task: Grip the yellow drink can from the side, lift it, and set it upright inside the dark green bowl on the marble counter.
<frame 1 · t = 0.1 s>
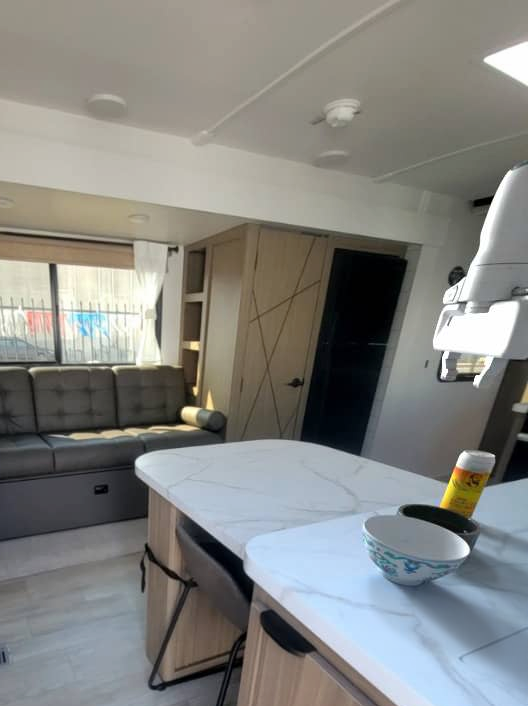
hand: (462, 384, 67), 30 cm above the table, tool pointing down, fingers open, 8 cm apart
chinaware: (399, 575, 69), on the table
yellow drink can: (452, 518, 92), on the table
dark green bowl: (428, 542, 80), on the table
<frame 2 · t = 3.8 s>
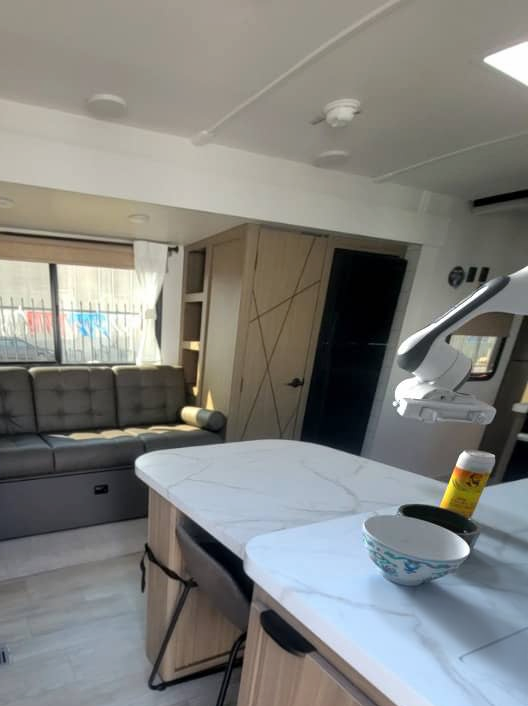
hand: (460, 419, 93), 20 cm above the table, tool horizontal, fingers open, 8 cm apart
nothing on the table moved.
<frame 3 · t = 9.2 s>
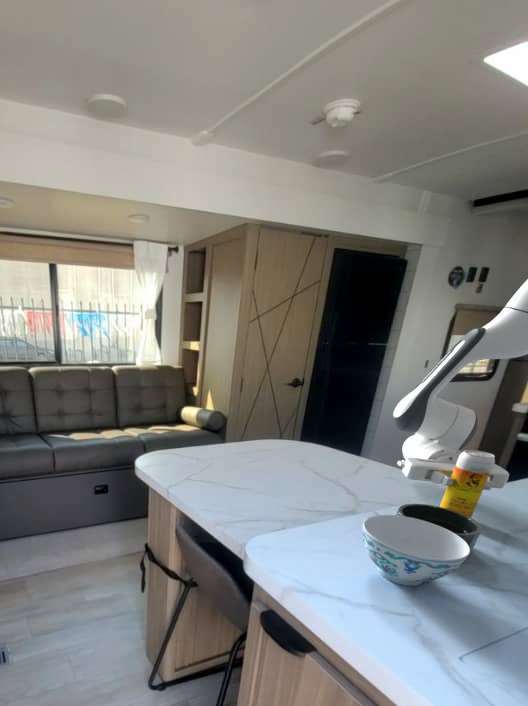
hand: (469, 484, 87), 8 cm above the table, tool horizontal, fingers closed on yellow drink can, 6 cm apart
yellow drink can: (452, 518, 92), on the table, touching gripper
everything else where it was.
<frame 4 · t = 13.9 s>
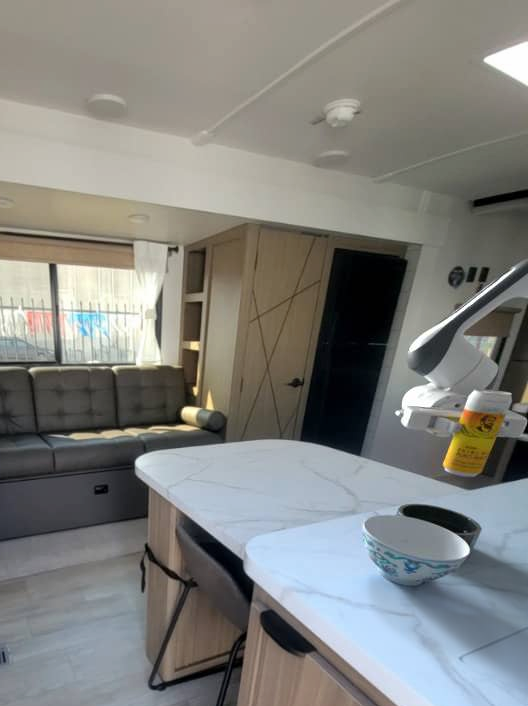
hand: (480, 430, 73), 22 cm above the table, tool horizontal, fingers closed on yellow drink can, 6 cm apart
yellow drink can: (459, 473, 78), point 13 cm above the table, touching gripper
everything else where it was.
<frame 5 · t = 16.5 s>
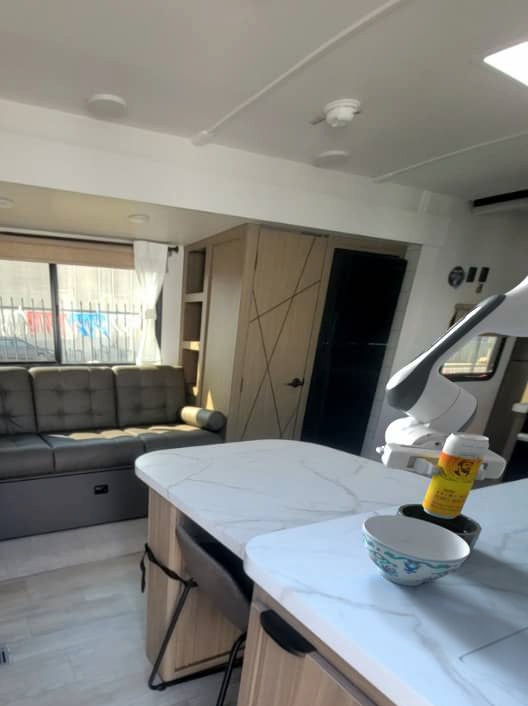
hand: (458, 473, 73), 15 cm above the table, tool horizontal, fingers closed on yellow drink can, 6 cm apart
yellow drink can: (439, 513, 77), point 6 cm above the table, touching gripper
everything else where it was.
when the fingers open (9 cm above the table, at t = 18.8 s): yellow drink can stays where it is, resting on dark green bowl.
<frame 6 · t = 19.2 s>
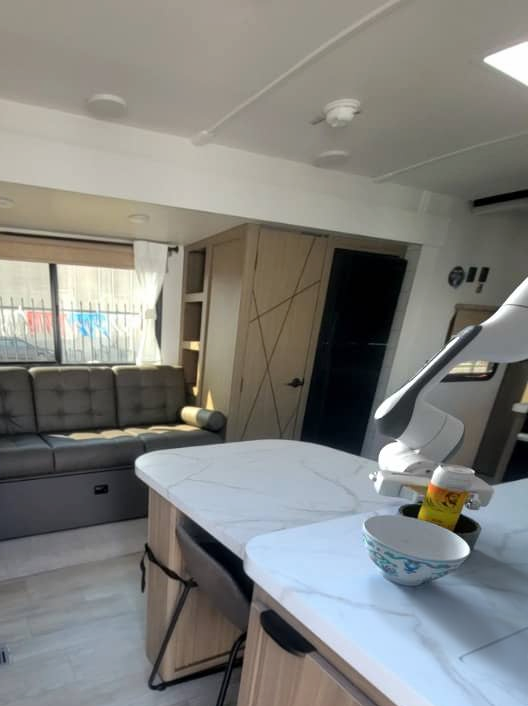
hand: (447, 503, 75), 9 cm above the table, tool horizontal, fingers open, 8 cm apart
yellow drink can: (428, 541, 80), resting on dark green bowl
everything else where it was.
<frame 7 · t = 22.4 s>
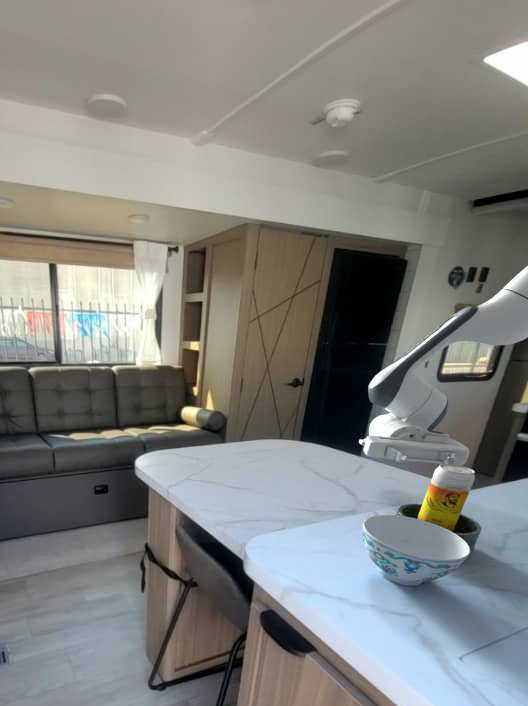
hand: (427, 460, 85), 13 cm above the table, tool horizontal, fingers open, 8 cm apart
nothing on the table moved.
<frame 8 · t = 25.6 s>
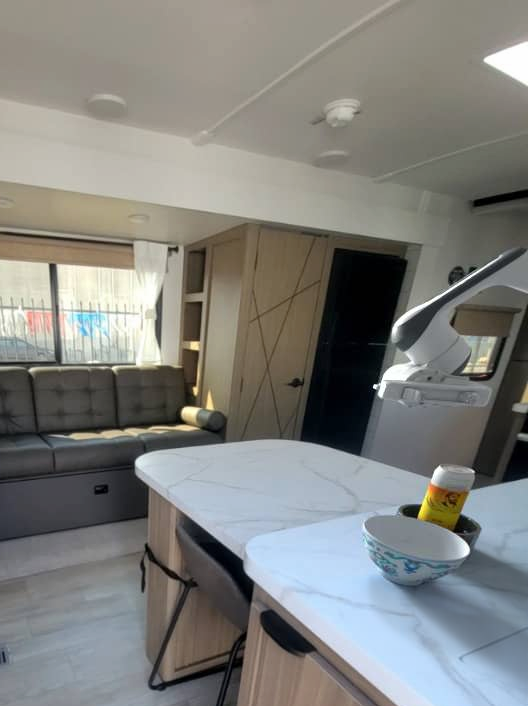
hand: (447, 398, 80), 26 cm above the table, tool horizontal, fingers open, 8 cm apart
nothing on the table moved.
at the end: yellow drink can 0.1 cm off-centre in the dark green bowl, point 0.3 cm above the dark green bowl's base; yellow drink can tilted 0°; the gripper is holding nothing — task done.
